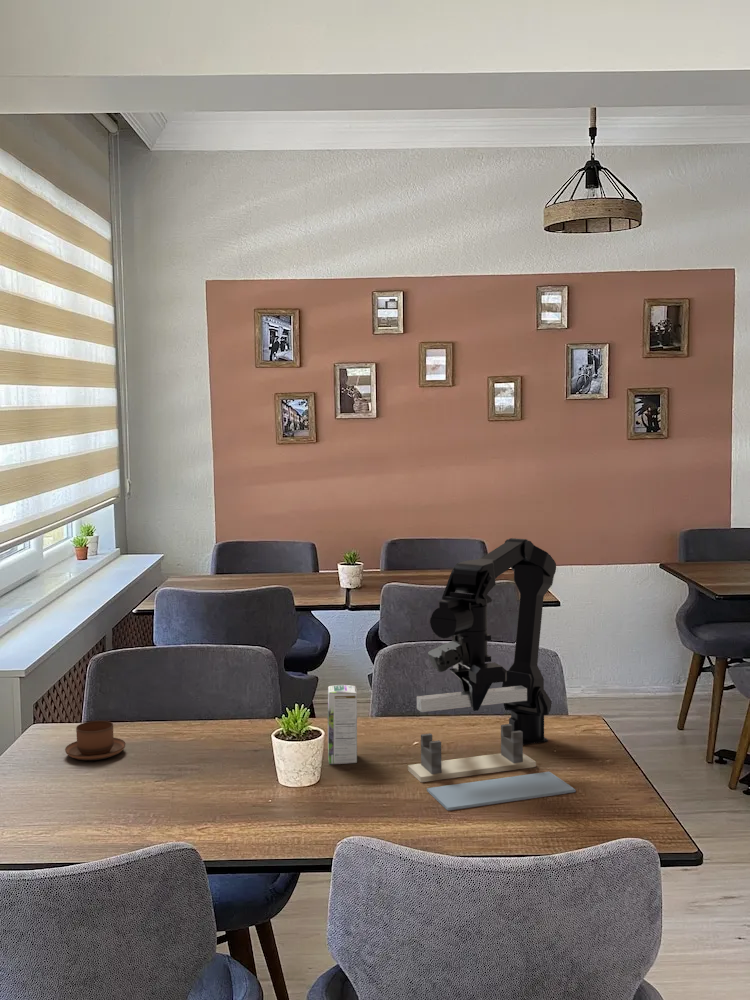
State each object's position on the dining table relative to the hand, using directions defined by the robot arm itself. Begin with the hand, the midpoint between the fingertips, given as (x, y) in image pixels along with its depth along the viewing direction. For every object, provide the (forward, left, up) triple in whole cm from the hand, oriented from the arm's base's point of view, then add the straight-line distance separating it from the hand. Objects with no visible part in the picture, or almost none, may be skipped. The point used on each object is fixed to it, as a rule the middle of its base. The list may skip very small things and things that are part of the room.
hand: (472, 708), depth 196 cm
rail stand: (0, -1, -12) cm, 12 cm away
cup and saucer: (+69, -36, -12) cm, 78 cm away
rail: (0, 0, +1) cm, 1 cm away
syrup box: (+22, -15, -12) cm, 29 cm away
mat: (0, +12, -12) cm, 17 cm away
